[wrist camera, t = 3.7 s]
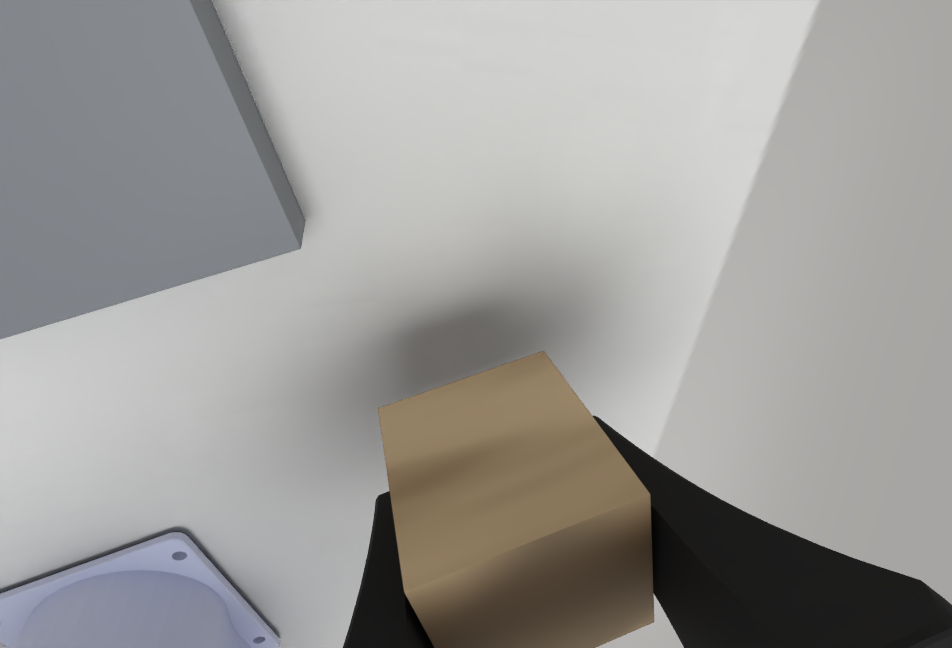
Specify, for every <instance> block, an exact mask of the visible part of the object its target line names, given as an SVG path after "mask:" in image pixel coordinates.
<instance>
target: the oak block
mask: <svg viewBox="0 0 952 648" xmlns="http://www.w3.org/2000/svg"><path fill="white" fill-rule="evenodd" d="M378 412H379V419H380V426H381V433H382V440H383V447H384V454H385V461H386V468H387V475H388V482H389V489H390V496H391V503H392V510H393V517H394V524H395V531H396V538H397V545H398V552H399V559H400V567H401V574H402V581H403V588H404V593H405V595H406V596H407V598H408V600H409V602H410V604H411V606H412V607H413V609H414V611H415V613H416V615H417V617H418V618H419V620H420V622H421V624H422V626H423V628H424V629H425V631H426V633H427V635H428V637H429V639H430V640H431V642H432V644H433V646H434V648H595V647H598V646H600V645H602V644H605V643H607V642H609V641H612V640H614V639H616V638H619V637H621V636H623V635H625V634H627V633H630V632H632V631H635V630H637V629H639V628H641V627H644V626H646V625H649V624H651V623H653V622H654V598H653V565H652V533H651V500H650V493H649V492H648V490H647V489H646V488H645V486H644V485H643V484H642V482H641V481H640V480H639V478H638V477H637V476H636V474H635V473H634V472H633V470H632V469H631V467H630V466H629V465H628V463H627V462H626V461H625V459H624V458H623V457H622V455H621V454H620V453H619V451H618V450H617V449H616V447H615V446H614V445H613V443H612V442H611V441H610V439H609V438H608V437H607V435H606V434H605V432H604V431H603V430H602V428H601V427H600V426H599V424H598V423H597V422H596V420H595V419H594V418H593V416H592V415H591V414H590V412H589V411H588V410H587V408H586V407H585V406H584V404H583V403H582V402H581V400H580V399H579V397H578V396H577V395H576V393H575V392H574V391H573V389H572V388H571V387H570V385H569V384H568V383H567V381H566V380H565V379H564V377H563V376H562V375H561V373H560V372H559V371H558V369H557V368H556V367H555V365H554V364H553V363H552V361H551V360H550V358H549V357H548V356H547V354H546V353H545V352H544V351H541V352H538V353H536V354H533V355H530V356H527V357H524V358H521V359H518V360H515V361H513V362H510V363H507V364H504V365H501V366H498V367H495V368H492V369H490V370H487V371H484V372H481V373H478V374H475V375H472V376H469V377H467V378H464V379H461V380H458V381H455V382H452V383H449V384H446V385H444V386H441V387H438V388H435V389H432V390H429V391H426V392H424V393H421V394H418V395H415V396H412V397H409V398H406V399H403V400H401V401H398V402H395V403H392V404H389V405H386V406H383V407H380V408H378Z"/></svg>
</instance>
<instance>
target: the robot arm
mask: <svg viewBox="0 0 952 648" xmlns="http://www.w3.org/2000/svg"><path fill="white" fill-rule="evenodd" d="M593 418H594V419H595V420H596V422H597V423H598V424H599V426H600V427H601V428H602V430H603V431H604V432H605V434H606V435H607V437H608V438H609V439H610V441H611V442H612V443H613V445H614V446H615V447H616V449H617V450H618V451H619V453H620V454H621V455H622V457H623V458H624V459H625V461H626V462H627V463H628V465H629V466H630V467H631V469H632V470H633V472H634V473H635V474H636V476H637V477H638V478H639V480H640V481H641V482H642V484H643V485H644V486H645V488H646V489H647V490H648V492H649V493H650V500H651V533H652V565H653V593H654V594H655V596H656V598H657V599H658V601H659V603H660V604H661V606H662V608H663V610H664V612H665V613H666V615H667V617H668V619H669V621H670V623H671V624H672V626H673V628H674V630H675V631H676V633H677V635H678V637H679V639H680V641H681V643H682V644H683V646H684V648H952V605H951V604H950V603H949V602H948V601H947V600H945V599H944V598H943V597H942V596H940V595H939V594H937V593H936V592H935V591H934V590H932V589H931V588H930V587H929V586H927V585H926V584H925V583H924V582H922V581H921V580H917V579H915V578H912V577H909V576H906V575H903V574H900V573H897V572H894V571H890V570H887V569H884V568H881V567H878V566H875V565H872V564H869V563H866V562H863V561H860V560H857V559H854V558H852V557H849V556H846V555H844V554H841V553H838V552H836V551H833V550H831V549H828V548H825V547H823V546H820V545H818V544H816V543H813V542H811V541H808V540H806V539H804V538H801V537H799V536H797V535H795V534H792V533H790V532H788V531H785V530H783V529H781V528H778V527H776V526H774V525H771V524H769V523H767V522H765V521H763V520H761V519H759V518H757V517H755V516H752V515H750V514H748V513H746V512H744V511H742V510H740V509H738V508H736V507H734V506H733V505H730V504H729V503H727V502H725V501H723V500H721V499H719V498H718V497H716V496H714V495H712V494H710V493H708V492H707V491H705V490H703V489H702V488H700V487H698V486H696V485H695V484H693V483H692V482H690V481H688V480H686V479H685V478H683V477H682V476H680V475H678V474H677V473H675V472H674V471H672V470H670V469H669V468H668V467H666V466H664V465H663V464H662V463H660V462H659V461H657V460H656V459H654V458H653V457H651V456H650V455H648V454H647V453H645V452H644V451H642V450H641V449H640V448H638V447H637V446H635V445H634V444H633V443H631V442H630V441H628V440H627V439H626V438H624V437H623V436H622V435H620V434H619V433H618V432H616V431H615V430H614V429H612V428H611V427H610V426H609V425H607V424H606V423H605V422H603V421H602V420H601V419H600V418H598V417H596V416H593ZM180 551H181V552H180ZM0 643H2V644H4V645H5V646H7V647H8V648H279V647H280V639H279V638H278V636H277V635H276V634H275V633H274V632H273V631H272V630H271V629H270V628H269V626H268V625H267V624H266V623H265V622H264V621H263V620H262V619H261V618H260V616H259V615H258V614H257V613H256V612H255V611H254V610H253V609H252V607H251V606H250V605H249V604H248V603H247V602H246V601H245V600H244V599H243V597H242V596H241V595H240V594H239V593H238V592H237V591H236V590H235V589H234V587H233V586H232V585H231V584H230V583H229V582H228V581H227V580H226V579H225V577H224V576H223V575H222V574H221V573H220V572H219V571H218V570H217V568H216V567H215V566H214V565H213V564H212V563H211V562H210V561H209V560H208V558H207V557H206V556H205V555H204V554H203V553H202V552H201V551H200V550H199V548H198V547H197V546H196V545H195V544H194V543H193V542H192V541H191V540H190V538H189V537H188V536H186V535H185V534H183V533H180V532H172V533H168V534H165V535H163V536H160V537H157V538H154V539H151V540H149V541H146V542H143V543H140V544H137V545H135V546H132V547H129V548H126V549H123V550H121V551H118V552H115V553H112V554H110V555H107V556H104V557H101V558H98V559H96V560H93V561H90V562H87V563H84V564H82V565H79V566H76V567H73V568H70V569H68V570H65V571H62V572H59V573H57V574H54V575H51V576H48V577H45V578H43V579H40V580H37V581H34V582H31V583H29V584H26V585H23V586H20V587H17V588H15V589H12V590H9V591H6V592H4V593H1V594H0ZM343 648H434V646H433V644H432V642H431V640H430V639H429V637H428V635H427V633H426V631H425V629H424V628H423V626H422V624H421V622H420V620H419V618H418V617H417V615H416V613H415V611H414V609H413V607H412V606H411V604H410V602H409V600H408V598H407V596H406V595H405V593H404V588H403V581H402V574H401V567H400V559H399V552H398V545H397V538H396V531H395V524H394V517H393V510H392V503H391V496H390V491H389V492H386V493H384V494H381V495H379V496H378V497H377V499H376V503H375V513H374V521H373V527H372V533H371V539H370V544H369V550H368V555H367V559H366V564H365V568H364V573H363V577H362V582H361V586H360V590H359V594H358V597H357V601H356V605H355V608H354V612H353V616H352V619H351V623H350V626H349V630H348V633H347V636H346V639H345V643H344V646H343Z"/></svg>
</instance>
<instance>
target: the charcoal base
mask: <svg viewBox="0 0 952 648" xmlns="http://www.w3.org/2000/svg"><path fill="white" fill-rule="evenodd" d="M304 226H305V219H304V216H303V214H302V212H301V209H300V207H299V205H298V202H297V200H296V197H295V195H294V193H293V190H292V188H291V186H290V183H289V181H288V179H287V176H286V174H285V172H284V169H283V167H282V165H281V162H280V160H279V158H278V155H277V153H276V151H275V148H274V146H273V144H272V141H271V139H270V137H269V134H268V132H267V130H266V127H265V125H264V123H263V120H262V118H261V116H260V113H259V111H258V109H257V106H256V104H255V102H254V99H253V97H252V95H251V92H250V90H249V88H248V85H247V83H246V81H245V78H244V76H243V74H242V71H241V69H240V66H239V64H238V62H237V59H236V57H235V55H234V52H233V50H232V48H231V45H230V43H229V41H228V38H227V36H226V34H225V31H224V29H223V27H222V24H221V22H220V20H219V17H218V15H217V13H216V10H215V8H214V6H213V3H212V1H211V0H0V339H3V338H6V337H9V336H13V335H16V334H19V333H23V332H26V331H29V330H33V329H36V328H39V327H43V326H46V325H49V324H53V323H56V322H59V321H63V320H66V319H69V318H72V317H76V316H79V315H82V314H86V313H89V312H92V311H96V310H99V309H102V308H106V307H109V306H112V305H116V304H119V303H122V302H126V301H129V300H132V299H135V298H139V297H142V296H145V295H149V294H152V293H155V292H159V291H162V290H165V289H169V288H172V287H175V286H179V285H182V284H185V283H189V282H192V281H195V280H199V279H202V278H205V277H208V276H212V275H215V274H218V273H222V272H225V271H228V270H232V269H235V268H238V267H242V266H245V265H248V264H252V263H255V262H258V261H262V260H265V259H268V258H272V257H275V256H278V255H281V254H285V253H288V252H291V251H295V250H298V249H301V244H302V238H303V232H304Z"/></svg>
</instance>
